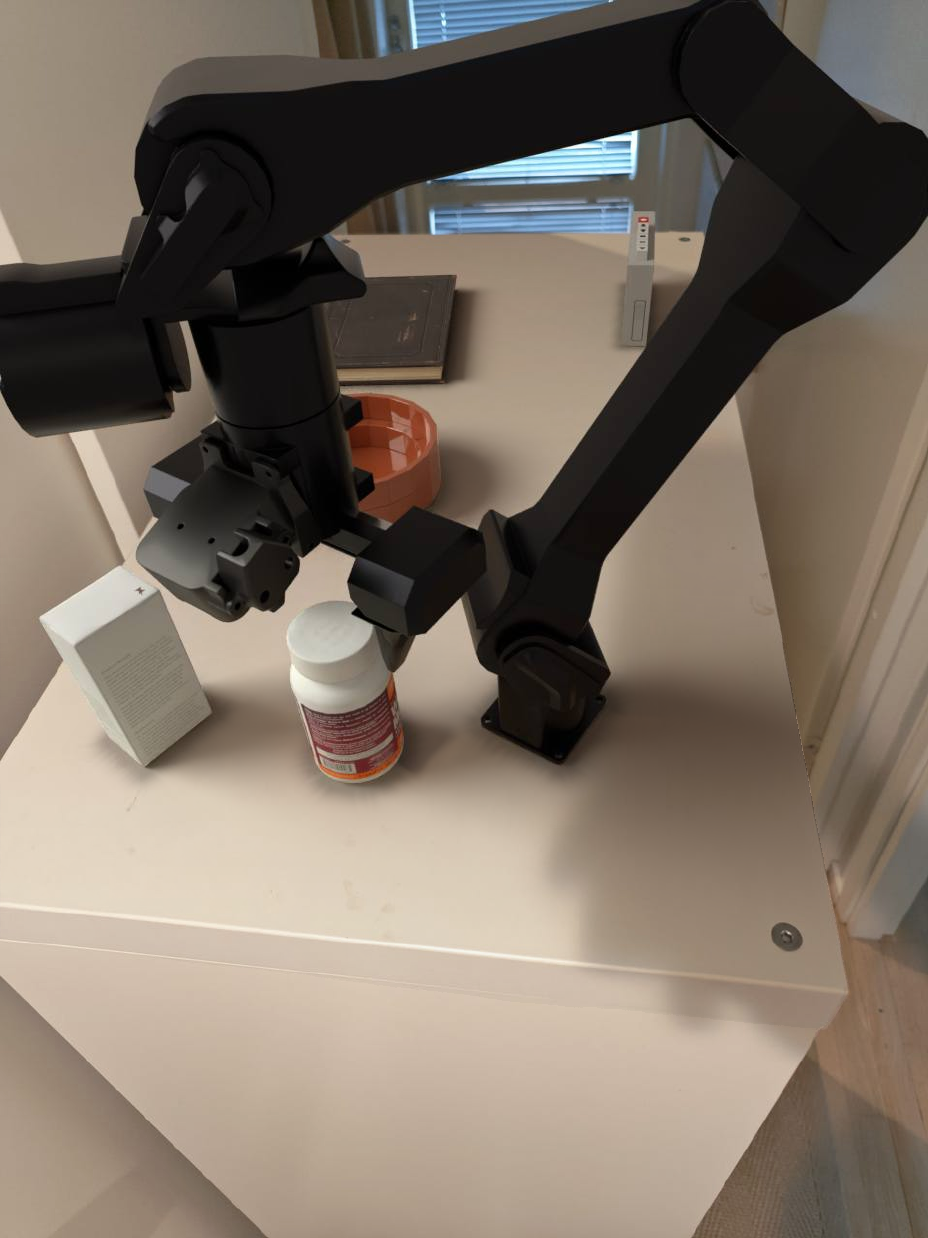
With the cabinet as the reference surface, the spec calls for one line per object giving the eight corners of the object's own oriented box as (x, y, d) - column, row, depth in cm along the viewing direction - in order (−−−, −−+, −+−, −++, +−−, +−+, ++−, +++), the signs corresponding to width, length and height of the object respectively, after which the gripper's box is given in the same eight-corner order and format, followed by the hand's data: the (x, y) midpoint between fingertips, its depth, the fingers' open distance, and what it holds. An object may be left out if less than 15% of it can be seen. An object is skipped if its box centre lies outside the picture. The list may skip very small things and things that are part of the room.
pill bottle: (421, 757, 56) (404, 637, 48) (339, 803, 54) (306, 686, 46) (376, 699, 60) (353, 579, 52) (297, 740, 58) (260, 621, 50)
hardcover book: (457, 292, 107) (456, 274, 106) (444, 383, 91) (443, 363, 89) (333, 295, 109) (330, 278, 107) (298, 386, 92) (294, 367, 91)
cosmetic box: (177, 686, 62) (122, 561, 53) (214, 714, 60) (162, 588, 51) (106, 740, 58) (35, 615, 50) (142, 771, 56) (74, 647, 48)
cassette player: (625, 286, 106) (632, 202, 99) (647, 286, 105) (656, 202, 98) (621, 345, 95) (628, 255, 88) (645, 346, 95) (655, 255, 88)
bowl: (371, 562, 70) (362, 509, 67) (242, 506, 77) (226, 455, 73) (473, 471, 79) (470, 419, 75) (349, 427, 86) (340, 378, 82)
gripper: (1, 425, 38) (121, 661, 49) (310, 565, 30) (371, 811, 41) (188, 324, 44) (257, 553, 55) (486, 417, 36) (497, 664, 47)
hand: (334, 636), depth 49 cm, fingers open, 9 cm apart
